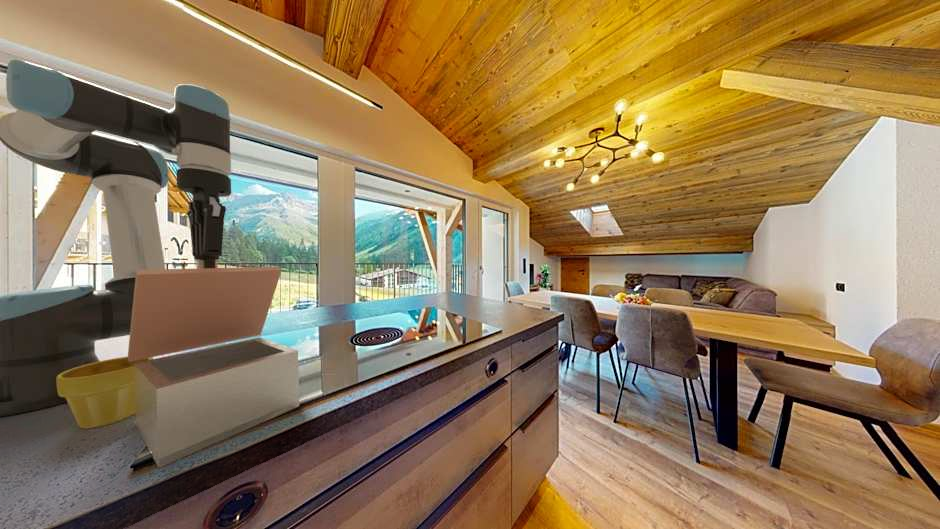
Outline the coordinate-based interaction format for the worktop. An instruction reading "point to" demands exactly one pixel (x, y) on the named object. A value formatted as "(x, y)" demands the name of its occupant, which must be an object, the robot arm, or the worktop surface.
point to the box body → (212, 394)
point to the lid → (198, 308)
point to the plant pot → (100, 391)
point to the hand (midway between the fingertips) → (207, 292)
